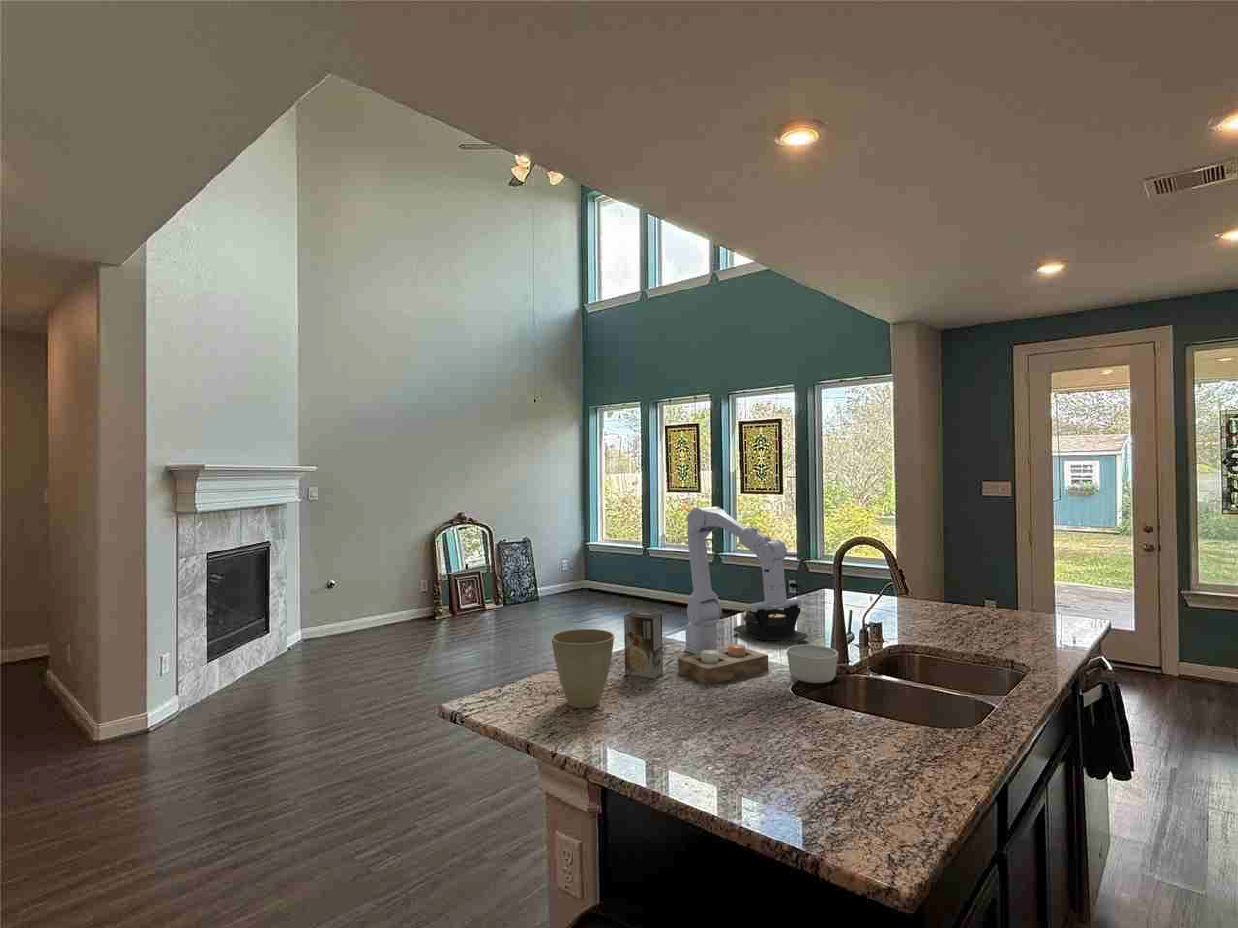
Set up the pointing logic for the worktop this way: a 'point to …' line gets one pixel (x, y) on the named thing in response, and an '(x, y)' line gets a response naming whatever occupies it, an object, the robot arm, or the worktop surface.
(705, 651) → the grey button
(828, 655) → the ramekin
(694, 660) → the button box
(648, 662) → the coffee box
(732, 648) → the terracotta button
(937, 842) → the worktop surface
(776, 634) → the casserole
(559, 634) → the plant pot
